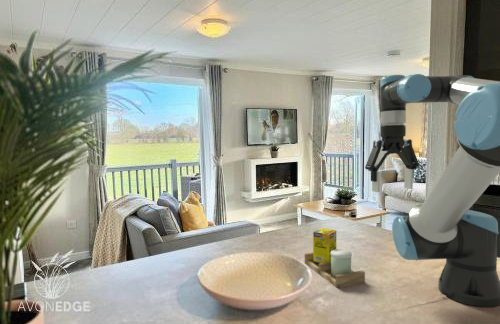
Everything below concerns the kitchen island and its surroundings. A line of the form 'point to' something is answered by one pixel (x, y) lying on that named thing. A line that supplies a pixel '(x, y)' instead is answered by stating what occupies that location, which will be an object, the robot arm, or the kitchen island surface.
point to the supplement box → (323, 245)
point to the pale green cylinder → (340, 262)
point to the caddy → (339, 280)
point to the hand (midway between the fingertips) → (392, 190)
